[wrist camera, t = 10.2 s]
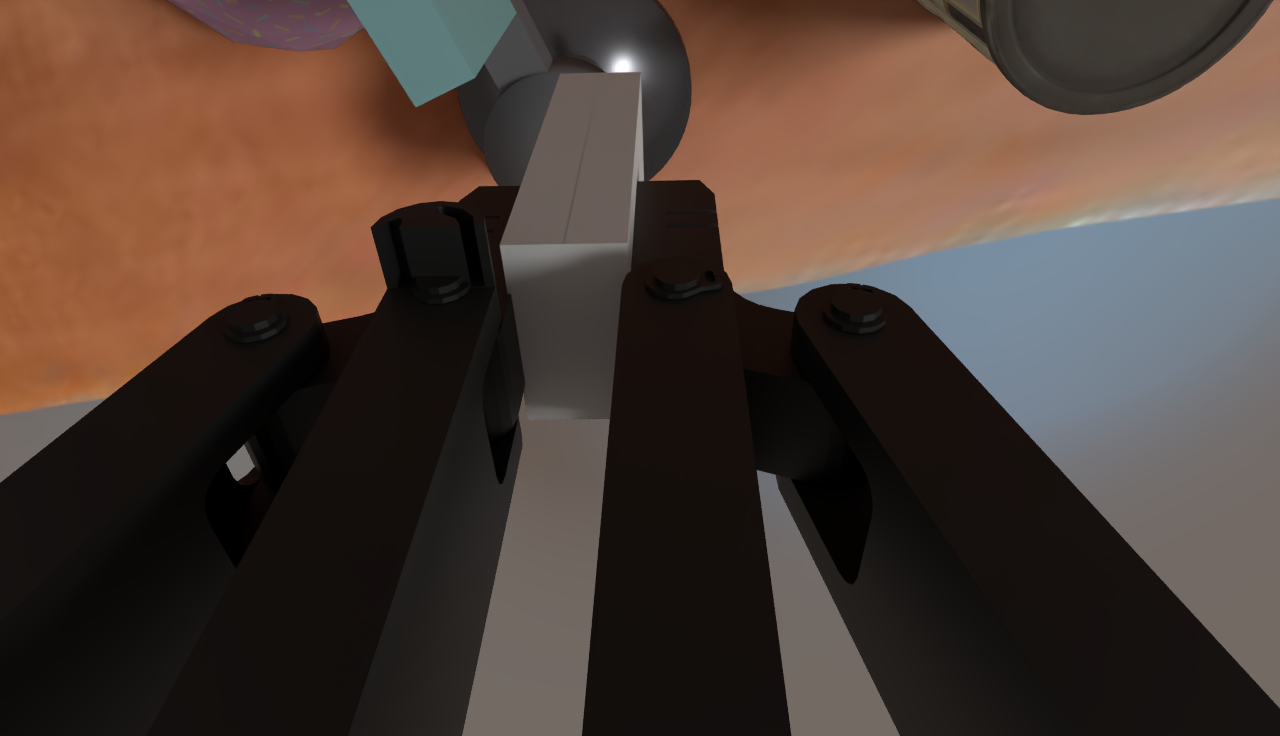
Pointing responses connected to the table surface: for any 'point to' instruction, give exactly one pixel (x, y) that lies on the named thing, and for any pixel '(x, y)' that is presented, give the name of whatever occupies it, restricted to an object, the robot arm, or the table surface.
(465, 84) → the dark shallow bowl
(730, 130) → the table surface
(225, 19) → the donut
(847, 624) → the robot arm
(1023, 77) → the coffee can
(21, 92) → the table surface
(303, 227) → the table surface
